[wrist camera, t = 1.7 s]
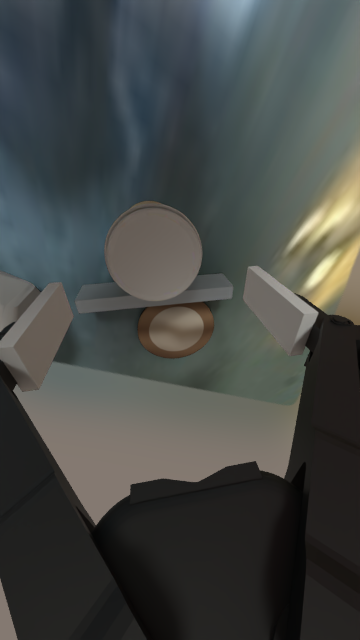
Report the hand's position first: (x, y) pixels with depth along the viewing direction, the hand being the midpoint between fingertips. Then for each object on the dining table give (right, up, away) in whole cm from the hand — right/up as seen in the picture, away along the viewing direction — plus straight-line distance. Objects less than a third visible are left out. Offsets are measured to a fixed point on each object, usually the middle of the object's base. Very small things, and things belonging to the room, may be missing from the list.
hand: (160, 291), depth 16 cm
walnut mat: (+1, -4, +24) cm, 25 cm away
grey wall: (-3, +4, +19) cm, 19 cm away
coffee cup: (-3, +10, +14) cm, 18 cm away
